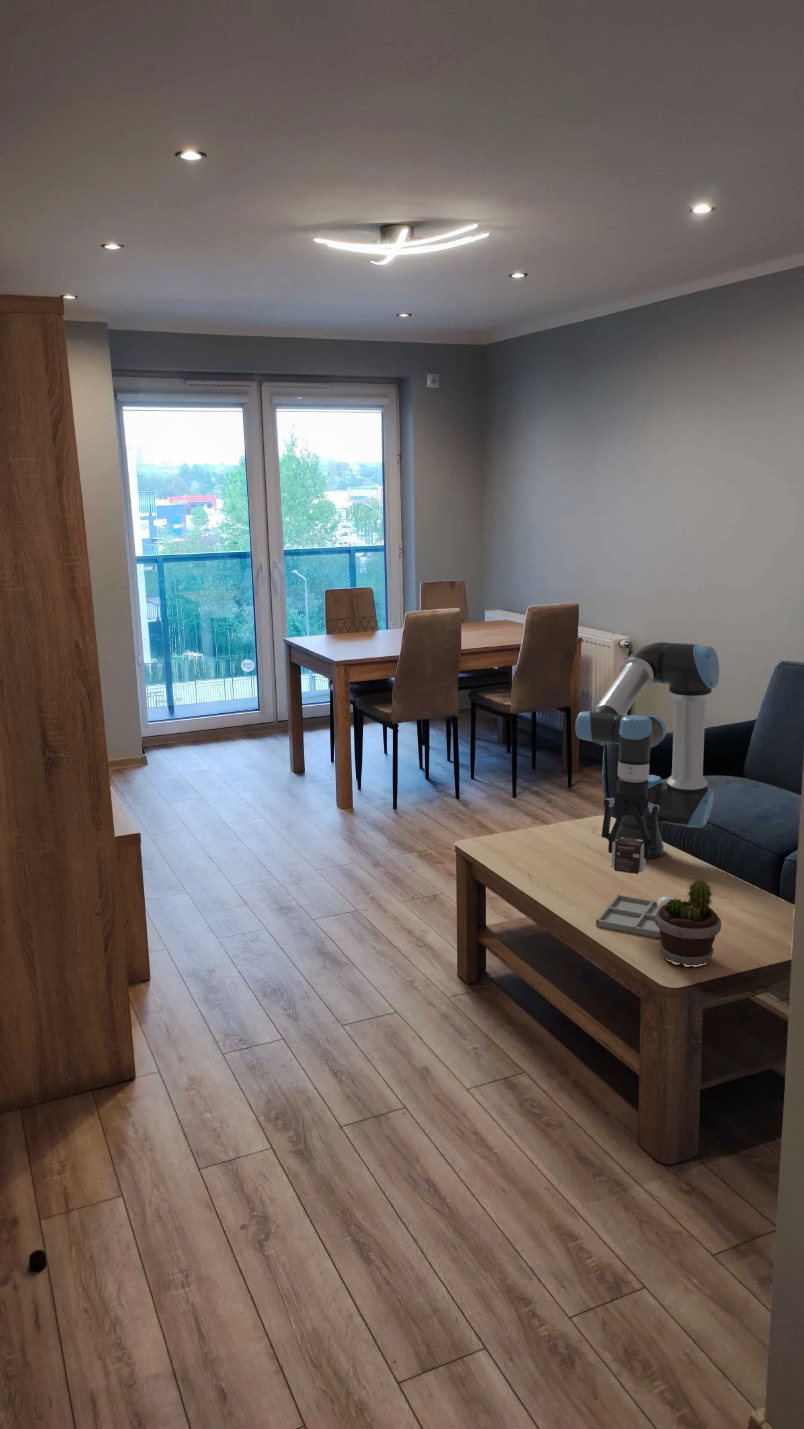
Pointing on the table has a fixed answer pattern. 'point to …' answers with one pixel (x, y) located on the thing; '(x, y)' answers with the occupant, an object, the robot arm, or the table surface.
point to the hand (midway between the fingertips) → (628, 867)
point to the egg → (663, 901)
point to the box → (628, 855)
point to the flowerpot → (688, 926)
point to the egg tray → (630, 916)
